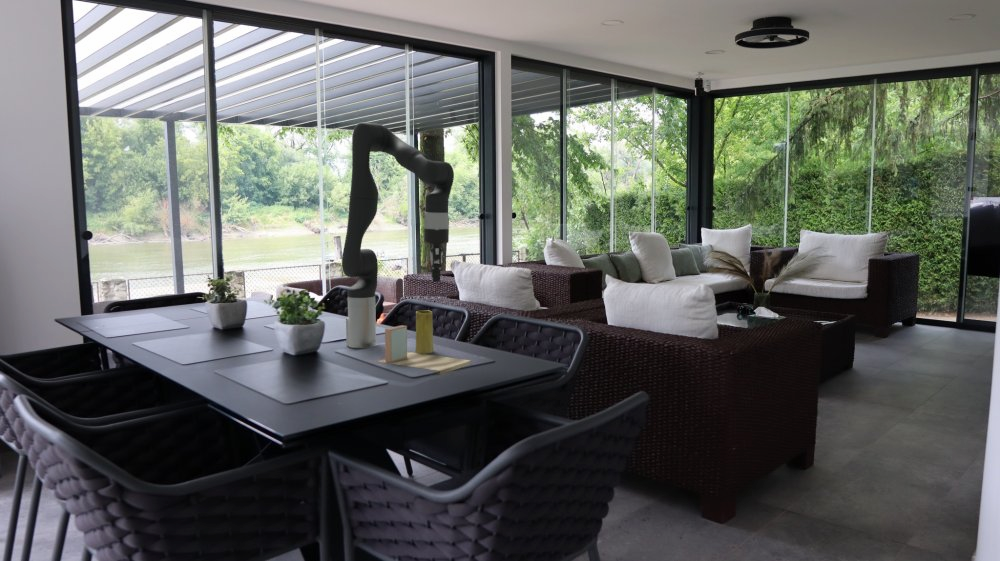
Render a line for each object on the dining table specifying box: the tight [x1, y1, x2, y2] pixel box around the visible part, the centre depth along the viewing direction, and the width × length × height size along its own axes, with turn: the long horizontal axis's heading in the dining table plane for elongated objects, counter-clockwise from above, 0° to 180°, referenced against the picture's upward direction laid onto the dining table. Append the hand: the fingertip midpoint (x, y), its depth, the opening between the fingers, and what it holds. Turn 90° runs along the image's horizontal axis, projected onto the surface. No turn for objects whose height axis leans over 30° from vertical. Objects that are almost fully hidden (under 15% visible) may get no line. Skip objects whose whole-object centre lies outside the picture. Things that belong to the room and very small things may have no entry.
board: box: [375, 351, 472, 376], centre depth 221 cm, size 24×16×1 cm, turn 59°
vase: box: [415, 310, 435, 355], centre depth 234 cm, size 6×6×14 cm
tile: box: [384, 324, 408, 364], centre depth 222 cm, size 2×8×10 cm, turn 149°
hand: (435, 279), depth 225 cm, fingers open, 8 cm apart
